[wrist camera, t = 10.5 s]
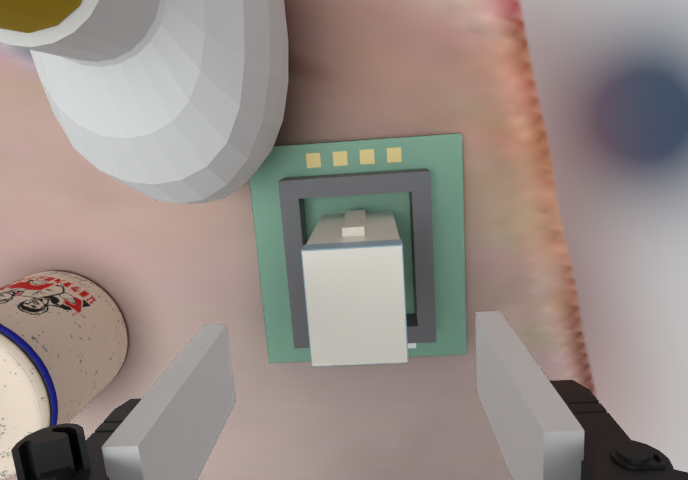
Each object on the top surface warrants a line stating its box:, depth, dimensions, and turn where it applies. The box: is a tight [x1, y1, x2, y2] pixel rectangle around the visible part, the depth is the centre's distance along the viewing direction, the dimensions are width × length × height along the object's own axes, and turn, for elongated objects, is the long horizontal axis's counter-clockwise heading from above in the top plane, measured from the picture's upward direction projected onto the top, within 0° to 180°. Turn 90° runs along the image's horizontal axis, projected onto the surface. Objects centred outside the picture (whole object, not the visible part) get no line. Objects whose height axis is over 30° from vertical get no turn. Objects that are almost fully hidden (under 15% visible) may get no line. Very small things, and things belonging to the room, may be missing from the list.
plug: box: [301, 209, 408, 367], centre depth 26 cm, size 5×4×9 cm
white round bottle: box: [0, 0, 288, 204], centre depth 17 cm, size 14×9×26 cm, turn 2°
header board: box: [249, 133, 467, 363], centre depth 30 cm, size 13×12×4 cm
